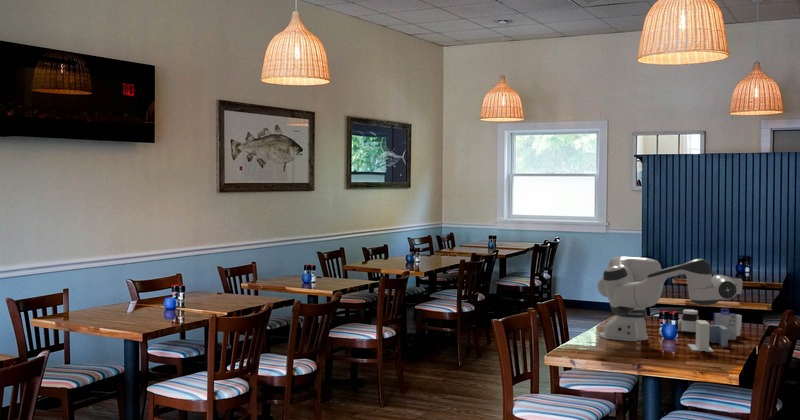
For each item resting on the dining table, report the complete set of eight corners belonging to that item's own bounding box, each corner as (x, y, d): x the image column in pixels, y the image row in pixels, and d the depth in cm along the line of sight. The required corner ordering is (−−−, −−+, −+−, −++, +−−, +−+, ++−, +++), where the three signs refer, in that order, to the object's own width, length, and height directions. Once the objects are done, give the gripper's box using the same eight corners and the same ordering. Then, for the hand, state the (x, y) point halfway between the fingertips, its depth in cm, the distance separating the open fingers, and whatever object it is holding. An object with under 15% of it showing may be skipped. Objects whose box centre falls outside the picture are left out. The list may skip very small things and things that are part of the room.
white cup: (724, 335, 392) (724, 315, 391) (723, 333, 399) (724, 313, 399) (741, 337, 389) (742, 316, 388) (741, 334, 396) (741, 314, 396)
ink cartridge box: (734, 338, 385) (735, 308, 385) (736, 340, 379) (737, 310, 379) (712, 337, 387) (713, 307, 387) (714, 339, 381) (715, 309, 381)
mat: (692, 350, 352) (692, 349, 352) (687, 345, 364) (687, 344, 364) (713, 352, 350) (713, 350, 350) (708, 346, 362) (708, 345, 362)
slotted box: (703, 345, 365) (703, 328, 365) (699, 341, 375) (700, 324, 375) (727, 346, 363) (728, 329, 363) (723, 342, 373) (723, 325, 373)
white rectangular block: (699, 350, 349) (699, 323, 349) (695, 346, 359) (696, 320, 359) (708, 351, 348) (709, 324, 348) (704, 346, 358) (705, 320, 358)
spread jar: (695, 336, 389) (696, 312, 389) (671, 333, 395) (672, 310, 395) (700, 332, 399) (701, 309, 399) (677, 330, 405) (678, 307, 405)
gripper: (693, 292, 330) (687, 288, 343) (745, 294, 326) (738, 290, 339) (693, 276, 329) (688, 273, 343) (745, 279, 325) (738, 275, 339)
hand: (713, 281), depth 341 cm, fingers open, 8 cm apart
